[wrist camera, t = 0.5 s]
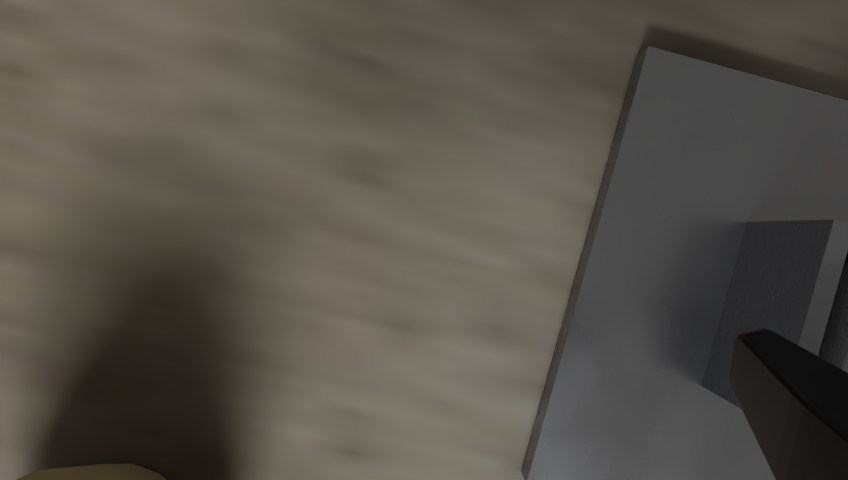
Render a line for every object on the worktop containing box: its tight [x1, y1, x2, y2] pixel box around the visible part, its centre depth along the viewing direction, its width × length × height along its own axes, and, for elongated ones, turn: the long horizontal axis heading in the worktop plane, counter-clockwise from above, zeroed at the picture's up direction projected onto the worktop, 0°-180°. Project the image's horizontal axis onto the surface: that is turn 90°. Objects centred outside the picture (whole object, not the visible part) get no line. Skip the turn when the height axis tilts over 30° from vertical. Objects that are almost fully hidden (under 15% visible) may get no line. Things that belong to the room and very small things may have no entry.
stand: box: [521, 46, 848, 480], centre depth 21 cm, size 16×16×6 cm
